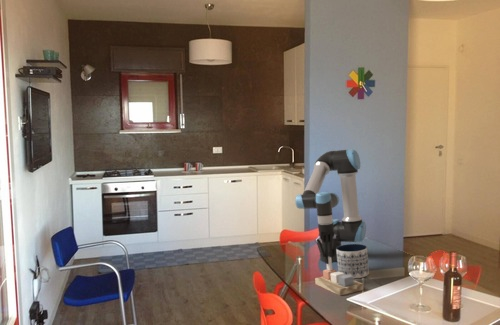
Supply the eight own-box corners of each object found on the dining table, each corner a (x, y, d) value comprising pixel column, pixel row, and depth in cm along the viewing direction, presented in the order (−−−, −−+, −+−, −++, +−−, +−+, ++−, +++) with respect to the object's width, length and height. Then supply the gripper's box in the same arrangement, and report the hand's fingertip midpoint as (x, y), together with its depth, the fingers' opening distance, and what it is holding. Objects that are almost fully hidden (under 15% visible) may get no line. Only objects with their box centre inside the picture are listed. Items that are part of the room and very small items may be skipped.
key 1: (331, 277, 241) (331, 268, 241) (337, 280, 236) (336, 270, 236) (323, 279, 239) (322, 269, 239) (328, 282, 234) (328, 272, 234)
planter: (336, 278, 244) (333, 251, 244) (341, 270, 259) (338, 244, 259) (367, 279, 239) (365, 251, 238) (370, 270, 254) (368, 243, 253)
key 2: (347, 284, 228) (347, 274, 228) (354, 286, 223) (353, 276, 223) (339, 286, 226) (338, 276, 226) (345, 289, 222) (344, 278, 221)
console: (337, 278, 244) (336, 273, 244) (363, 289, 224) (362, 283, 224) (315, 284, 239) (315, 278, 239) (340, 295, 219) (339, 289, 219)
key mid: (339, 280, 235) (338, 271, 234) (345, 283, 230) (344, 273, 230) (331, 283, 233) (330, 273, 232) (336, 285, 228) (335, 275, 228)
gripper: (332, 220, 242) (336, 265, 243) (310, 224, 237) (314, 270, 238) (340, 222, 235) (344, 268, 236) (318, 226, 230) (322, 273, 231)
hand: (329, 269), depth 237 cm, fingers closed
